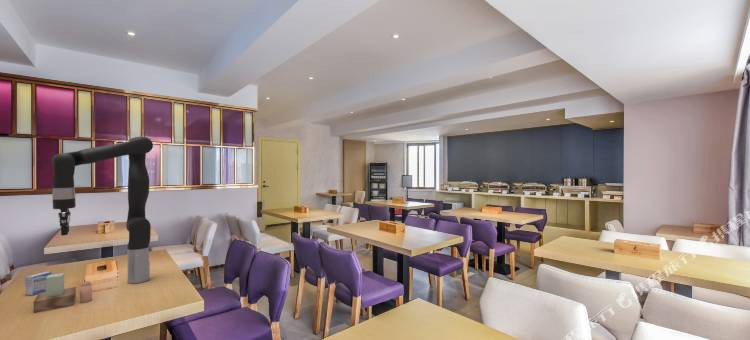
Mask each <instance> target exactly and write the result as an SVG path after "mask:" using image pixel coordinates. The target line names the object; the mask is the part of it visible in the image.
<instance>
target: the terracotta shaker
mask: <svg viewBox="0 0 750 340" xmlns="http://www.w3.org/2000/svg"><path fill="white" fill-rule="evenodd" d="M91 301H93V284H92V283H91V281H89V280H85V281H83V282H82V283H81V285H80V286H79V303H81V304H85V303H89V302H91Z"/></svg>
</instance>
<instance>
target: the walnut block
mask: <svg viewBox="0 0 750 340" xmlns="http://www.w3.org/2000/svg"><path fill="white" fill-rule="evenodd" d="M76 289H77V287H76V286H74V287H67V288H64V292H63V294H62V295H56V296H50V297H46V291H45V292H42V293H38V294H36V296H35V299H34V300H33V314H36V313H41V312H46V311H51V310H56V309H62V308H69V307H73V306H75V301H76V299H77V298H76V297H77V294H76V293H77V291H76Z"/></svg>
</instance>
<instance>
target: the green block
mask: <svg viewBox="0 0 750 340" xmlns="http://www.w3.org/2000/svg"><path fill="white" fill-rule="evenodd" d="M64 289H65V272H63V273H62V272H61V273H54V274H52V273H51V275H48V276H47V278H46V291H45V292H46V297H50V296H56V295H62V294H63V292H64Z"/></svg>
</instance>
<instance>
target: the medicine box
mask: <svg viewBox="0 0 750 340" xmlns="http://www.w3.org/2000/svg"><path fill="white" fill-rule="evenodd" d="M48 275H52V272H51V271H43V272H39V273H35V274H31V275H28V276H25V277H24V279H25V280H24V287H25V288H24V289H25V290H24V294H25V296H37V295H38V293H42V292H46V278H47V276H48Z"/></svg>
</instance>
